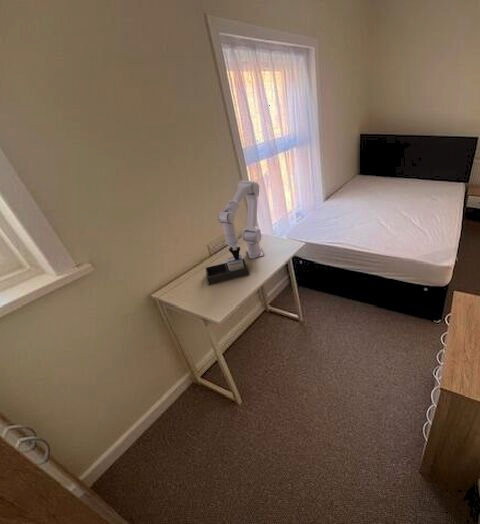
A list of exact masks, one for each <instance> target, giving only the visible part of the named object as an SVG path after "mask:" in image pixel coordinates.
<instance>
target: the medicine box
mask: <svg viewBox="0 0 480 524" xmlns="http://www.w3.org/2000/svg"><path fill="white" fill-rule="evenodd" d="M242 259H243V257H242V255H241V254H239V259H236V260H235V259H234V257H233V256H230V257H225V261H226V263H227V265H228V268H229V272H231V271H235V270H239V269H243V268H244V265H243V260H242Z"/></svg>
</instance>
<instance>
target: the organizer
mask: <svg viewBox="0 0 480 524" xmlns="http://www.w3.org/2000/svg"><path fill="white" fill-rule="evenodd" d="M242 260H243V265H244V268H243V269H239V270H235V271H231V272H229V268H228V265H227V262H224V263H219V264H215V265H211V266H207V267H205V275H206V280H207V282H208V286H211V285H216V284H218V283H219V284H220V283H222V282H226V281H230V280H234V279H238V278H242V277H246V276H249V275H250V273H249V269H248V265H247V263H246V259H245V258H242Z"/></svg>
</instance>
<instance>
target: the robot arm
mask: <svg viewBox="0 0 480 524" xmlns="http://www.w3.org/2000/svg"><path fill="white" fill-rule="evenodd" d="M245 196H246V197H247V219H246V226H245V227H243V230H242V234H241V239H242V240H243V241H244V242H245V244H246V245H247V255H248V258H249V259H251V260H252V259H255V258H259V257H263V256H264V253H263V251H262V249H261V245H260V244H261V243H260V242H261V240H262V231H261V229H260V228H259V226H257V220H258V199H259V197H260V184H259V183H258V181H256V180H243V179H241V180H239V181H238V183H237V190H236V192H235V194H234V196H233V198H232V199H230V200H228V202H227V203H226V205H225V207H224V208H223V210H221V211H220V212H218V213H217V221H218V223H220V226H222V229H223V233H224V237H225V241H224V242H223V243H224V245H228V246H229V248H228V251H229V252H230V253H231V255H232V257H234V259H235V260H236V259H239V255H240V251H241V247H240V246H238V244H239V238H238V234H237V230H236V226H235V221H236V216H237V215H236V214H237V212H238V210H239V209H240V207H241V205H240V202H241V201H243V199H244V197H245Z"/></svg>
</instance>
